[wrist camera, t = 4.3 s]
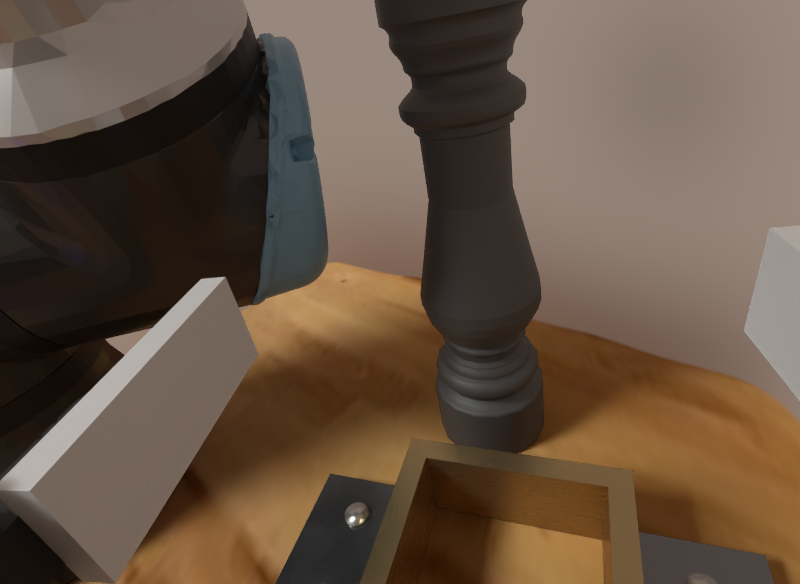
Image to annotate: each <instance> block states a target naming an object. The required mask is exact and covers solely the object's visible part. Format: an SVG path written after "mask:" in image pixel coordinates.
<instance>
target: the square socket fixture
mask: <svg viewBox="0 0 800 584" xmlns="http://www.w3.org/2000/svg"><path fill="white" fill-rule="evenodd" d="M437 507H439V508H444V509H449V510H454V511H459V512H464V513H469V514H474V515H479V516H484V517H489V518H494V519H499V520H505V521H510V522H515V523H520V524H525V525H530V526H535V527H540V528H545V529H550V530H555V531H560V532H565V533H570V534H575V535H580V536H585V537H590V538H595V539H600V540H603V565H604V584H774V580H773V577H772V574H771V571H770V568H769V564H768V561H767V558H766V555H760V554H755V553H750V552H744V551H739V550H734V549H728V548H723V547H718V546H712V545H707V544H702V543H696V542H691V541H686V540H681V539H675V538H670V537H665V536H659V535H654V534H649V533H643V532H639V530H638V520H637V510H636V500H635V490H634V480H633V471H632V470H626V469H619V468H612V467H605V466H598V465H591V464H585V463H578V462H571V461H564V460H557V459H550V458H544V457H537V456H530V455H523V454H516V453H510V452H503V451H496V450H489V449H482V448H475V447H469V446H462V445H455V444H448V443H441V442H435V441H428V440H421V439H414V438H412V440H411V443H410V446H409V449H408V451H407V454H406V457H405V460H404V462H403V465H402V468H401V471H400V473H399V476H398V479H397V482H396V484H395V486H393V485H388V484H382V483H377V482H372V481H366V480H361V479H356V478H350V477H345V476H340V475H334V474H330V476H329V478H328V480H327V482H326V484H325V486H324V488H323V490H322V492H321V494H320V496H319V498H318V500H317V502H316V504H315V506H314V508H313V510H312V512H311V514H310V516H309V518H308V520H307V522H306V524H305V526H304V528H303V530H302V532H301V534H300V536H299V538H298V540H297V542H296V544H295V546H294V548H293V550H292V552H291V554H290V556H289V558H288V560H287V562H286V564H285V566H284V568H283V570H282V572H281V574H280V576H279V578H278V580H277V582H276V584H416V582H417V578H418V574H419V571H420V567H421V563H422V560H423V556H424V552H425V549H426V545H427V541H428V538H429V534H430V530H431V526H432V523H433V519H434V515H435V512H436V508H437Z"/></svg>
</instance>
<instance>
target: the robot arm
mask: <svg viewBox="0 0 800 584" xmlns="http://www.w3.org/2000/svg"><path fill="white" fill-rule="evenodd" d="M327 238H328V237H327V227H326V217H325V209H324V202H323V194H322V187H321V181H320V175H319V168H318V163H317V158H316V155H315V153H314V140H313V134H312V129H311V118H310V112H309V106H308V101H307V95H306V90H305V85H304V80H303V75H302V71H301V66H300V62H299V58H298V54H297V51H296V48H295V46H294V44H293V43H292V42H291V41H290V40H289V39H287V38H285V37H274V36H273V35H271V34H270V33H268V34H261V35H260V36H259V38H258V39H256V37H255V34H254V32H253V28H252V26H251V22H250V19H249V16H248V13H247V10H246V7H245V4H244V2H243V0H0V584H66V583H68V582H70V581H71V580H73V579H75V578H76V577H78V578H79V579H80V580H81V581H89V582H103V583H116V582H117V581H118V579H119V577H120V576H121V574H122V573H123V571H124V569H125V568H126V566H127V565H128V563H129V561H130V560H131V558H132V556H133V555H134V553H135V552H136V550H137V548H138V547H139V545H140V544H141V542H142V540H143V539H144V537H145V536H146V534H147V532H148V531H149V529H150V528H151V526H152V524H153V523H154V521H155V520H156V518H157V516H158V515H159V513H160V511H161V510H162V508H163V507H164V505H165V503H166V502H167V500H168V499H169V497H170V495H171V494H172V492H173V491H174V489H175V487H176V486H177V484H178V483H179V481H180V479H181V478H182V476H183V475H184V473H185V471H186V470H187V468H188V467H189V465H190V463H191V462H192V460H193V458H194V457H195V455H196V454H197V452H198V450H199V449H200V447H201V446H202V444H203V442H204V441H205V439H206V438H207V436H208V434H209V433H210V431H211V430H212V428H213V426H214V425H215V423H216V422H217V420H218V418H219V417H220V415H221V413H222V412H223V410H224V409H225V407H226V405H227V404H228V402H229V401H230V399H231V397H232V396H233V394H234V393H235V391H236V389H237V388H238V386H239V385H240V383H241V381H242V380H243V378H244V377H245V375H246V373H247V372H248V370H249V369H250V367H251V365H252V364H253V362H254V360H255V359H256V357H257V356H258V352H257V350H256V347H255V345H254V342H253V340H252V338H251V335H250V333H249V331H248V328H247V326H246V324H245V321H244V319H243V317H242V314H241V312H240V310H239V307H243V306H247V305H258V304H260V303H262V302H263V301H264V300H265V299H266V298H269V297H272V296H276V295H279V294H282V293H285V292H288V291H291V290H294V289H298V288H301V287H304V286H306V285H308V284H310V283H312V282H314V281H315V280H316V279H317V278H318V277H319V276H320V275H321V274H322V272H323V270H324V268H325V266H326V263H327V259H328V239H327ZM149 328H152V329H151V330H150V331H149V332H148V333H147V334H146V335H145V336H144V337H143V338H142V339H141V340H140V341H139V342H138V343H137V344H136V345H135V346H134V347H133V348H132V349H131V350H130V351H129V352H128V353H127V354H126V355H124V354H122V353H121V352H120V351H118V350H117V349H116V348H114V347H113V346H111V345H110V344H109V343H108V342H107V341H106V340H105V339H107V338H111V337H114V336H119V335H124V334H128V333H132V332H136V331H141V330H144V329H149ZM744 332H745V333H746V335H747V336H748V337H749V338H750V340H751V341H752V342H753V343H754V345H755V346H756V347H757V348H758V350H759V351H760V352H761V353H762V355H763V356H764V357H765V358H766V360H767V361H768V362H769V363H770V364H771V366H772V367H773V368H774V369H775V371H776V372H777V373H778V375H779V376H780V377H781V378H782V380H783V381H784V382H785V383H786V385H787V386H788V387H789V388H790V390H791V391H792V392H793V393H794V394H795V396H796V397H797V398H798V400H799V401H800V225H799V226H788V227H778V228H770V229H769V233H768V237H767V241H766V244H765V248H764V253H763V256H762V260H761V264H760V268H759V272H758V276H757V280H756V284H755V288H754V292H753V295H752V299H751V303H750V307H749V311H748V315H747V319H746V323H745V327H744Z"/></svg>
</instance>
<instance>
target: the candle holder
mask: <svg viewBox="0 0 800 584" xmlns="http://www.w3.org/2000/svg"><path fill="white" fill-rule="evenodd" d="M526 1H527V0H375V7H376V13H377V18H378V24H379V27H380V28H382V29H384V30H385V31H386V32H387V33H388V35H389V47H390V49H391V51H392V52H393V53H394V55H395V56H396V57H397V58H398V59H399V60H400V62H401V64H402V66H403V70H404V72H405V73H406V74H408V75H409V76H410V77H411V80H412V89H411V91H410V92H409V93H408V94H407V96H406V97H405V98H404V99H403V101H402V102H401V104H400V105H399V114H400V117H401V119H402V121H403V122H405V123H406V124H407V125H409V126H411V127H413V128H414V133H415V134H416V135H418V136H419V137H420V144H421V151H422V158H423V165H424V171H425V178H426V185H427V192H428V198H429V203H428V216H427V228H426V239H425V250H424V261H423V273H422V282H421V293H420V295H421V301H422V305H423V307H424V309H425V311H426V313H427V315H428V317H429V319H430V321H431V323H432V325H433V326H434V327H435V328H436V329H437V330H438V331H439V332H440V333H441V334H443V337H444V339H445V341H446V342H445V344H444V345H443V346H442V348H441V349H440V350H439V355H438V361H437V369H438V375H437V381H436V389H437V394H438V400H439V405H440V411H441V417H442V422H443V425H444V428H445V430H446V433H447V436H448V438H449V439H451V440H452V441H453V442H454V443H455V444H456V445H462V446H469V447H475V448H482V449H489V450H496V451H503V452H510V453H519V452H522V451H523V450H525V449H526V448H527V447H529V446H530V445H531V444H532V443H534V442H535V441H536V440H537V438H538V436H539V434H540V432H541V430H542V427H543V381H542V371H541V369H540V368H539V366H538V359H537V351H536V349H535V348H534V346H533V345H532V344H531V342H530V341H529V340H528V338H527V337H526V336H524V335H525V328H526V327H527V325H528V324H529V322H530V321H531V319H532V318H533V316H534V314H535V313H536V311H537V309H538V307H539V304H540V301H541V286H540V278H539V274H538V270H537V267H536V263H535V261H534V257H533V254H532V250H531V247H530V244H529V240H528V237H527V234H526V231H525V227H524V224H523V220H522V217H521V214H520V210H519V206H518V203H517V200H516V196H515V193H514V189H513V183H512V161H511V139H510V123H511V122H512V121H513V120H514V112H515V111H516V110H517V109H519V108H520V107H521V106H522V105H523V104H524V103H525V99H526V86H525V83H524V82H523V81H522V80H520V79H519V78H518V77H516V76H515V75H513V74H511V73H510V72H509V71H508V70H507V60H508V58H509V57H510V56H511V55H512V53H513V45H514V41H515V39H516V37H517V35H518V34H519V32H520V30H521V28H522V25H523V17H522V7H523V5H524V3H525V2H526Z"/></svg>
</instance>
